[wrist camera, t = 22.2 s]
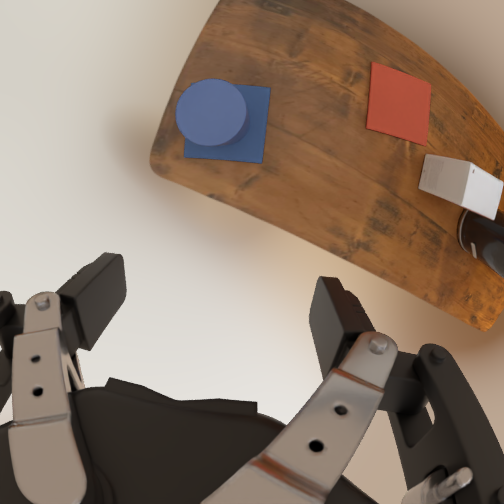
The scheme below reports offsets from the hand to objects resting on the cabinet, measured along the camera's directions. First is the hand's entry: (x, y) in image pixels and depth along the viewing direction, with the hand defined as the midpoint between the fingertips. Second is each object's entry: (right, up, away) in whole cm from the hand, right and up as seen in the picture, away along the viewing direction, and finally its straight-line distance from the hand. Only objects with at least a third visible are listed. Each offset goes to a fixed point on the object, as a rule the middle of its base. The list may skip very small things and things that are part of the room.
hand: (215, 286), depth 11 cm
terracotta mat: (+22, +22, +19) cm, 36 cm away
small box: (+30, +13, +23) cm, 40 cm away
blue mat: (-2, +18, +21) cm, 27 cm away
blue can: (-2, +17, +21) cm, 27 cm away
